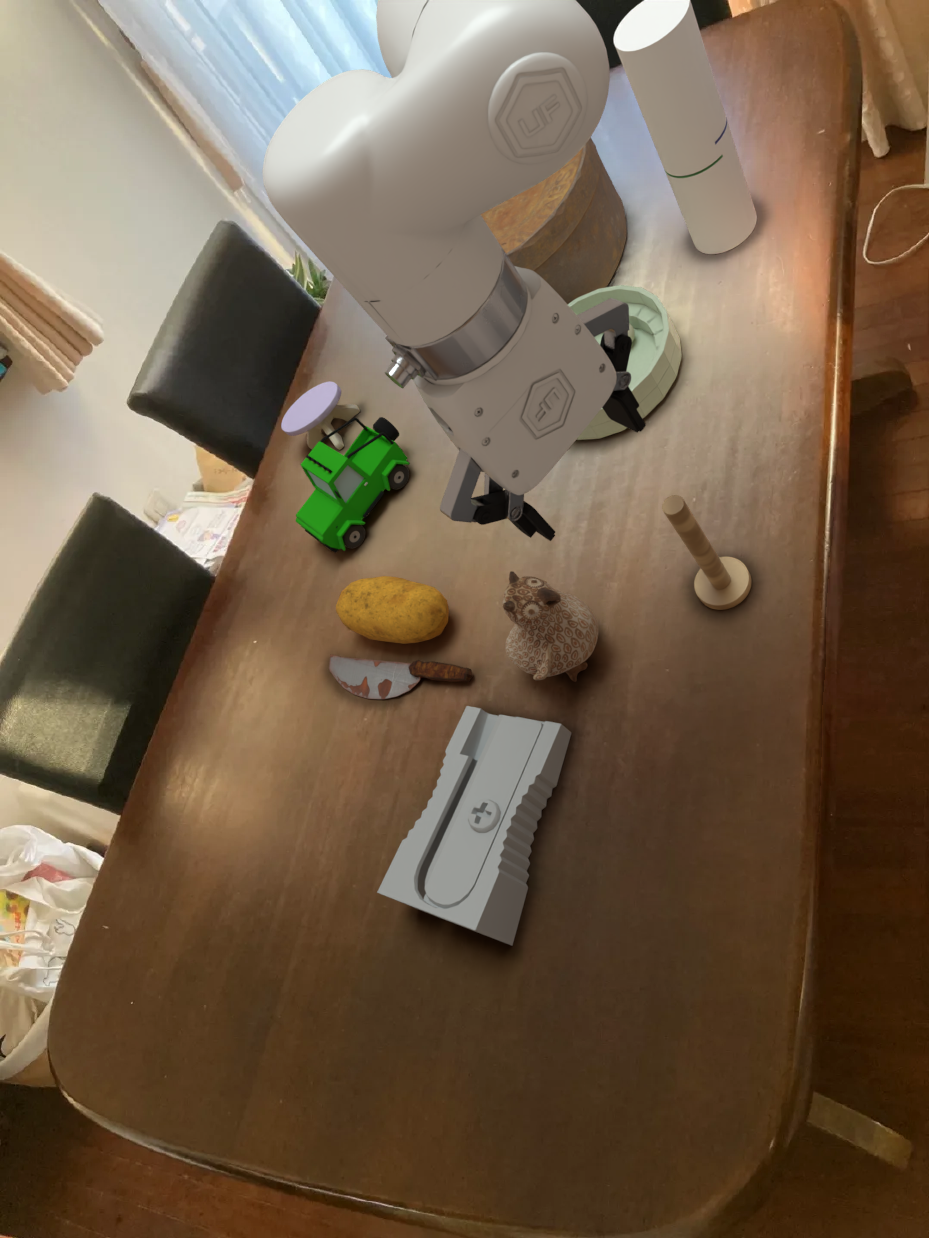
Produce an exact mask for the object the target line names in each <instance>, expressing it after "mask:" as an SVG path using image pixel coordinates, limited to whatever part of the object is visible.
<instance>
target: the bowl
mask: <svg viewBox="0 0 929 1238" xmlns="http://www.w3.org/2000/svg"><path fill="white" fill-rule="evenodd" d="M610 298H613V299H616V300H619V301H622V302H624V303H627V304H628V306H629V323H630V324H631V325H632V326H633V328H634V331H635V337H634V340H633V342H632V346H631V351H630V356H629V361H628V366H627V372H629V373H630V374H631V382H630V384H629V388H630V390H631V392H632V393H633V395H634V397H635V398H636V400H637V402H638V403H639V407H638V408H637V411H638V412H639V414H640V416H641V417H642V419H644V418H646V417H647V416H648V415H649V414H650V413H651V412H652V411H653V410H654V409H655V408H656V407H657V406H658V405H659V404H660V403H661V402H662V401H663V400H664V399H665V397H666V396H667V394H668V392H669V391H670V389H671V387H672V385H674V382H675V380H676V379H677V377H678V373H679V369H680V365H681V361H682V356H683V352H682V345H681V339H680V335H679V332H678V331H677V330H676V327H675V325H674V322H673V321H672V318H671V316H670V314H669V312H668V310H667V309H666V307H665V306H664V304H663V302H662V301H661V299H660V298H659V297H658V295H657V294H654V293H653V292H651V291H649V290H647V289H645V288H644V287H641V286H635V285H634V286H633V285H626V284H617V285H613V286H607V287H606V288H600V289H597V290H595V291H592V292H590V293H588V294H585V295H583V296H580V297H578V298H576V299H575V300H573V301H572V302H570V303H569V304H567V305H568V306H569V307H570V308H571V309H572V310H573V311H574V313H575V314H576V315H578V314H580V313H582V312H584V311H586V310H588V309H590V308H592V307H594V306H596V305H598V304H600V303H602V302H604V301H606V300H608V299H610ZM603 334H604V333H601V334H599V335H597V336H595V337H594V338H595V339H596V340H597V342H598V343H599V344H600V343H601V338H602V336H603ZM627 429H628V428H627V427H625V426H623V425H621V424H619V423H617V422H615V421H613V420H611V419H610V418H609V417H608V416H607V414H606V413H605V411H604V410H603V408H601V409H600V411H599V412H598V413H597V415H596V416H595V417H594V418H593V420H592V421H591V422H590V423H589V424H588V426H587V427H586V428H585V429H584V431H583V432H582V433H581V434H580V436H579V437H578V438H577V439H576V440H577V441H582V440H597V439H599V440H600V439H602V438H606V437H608V436H611V435H614V434H617V433H620V432H623V431H625V430H627ZM576 440H575V441H576Z"/></svg>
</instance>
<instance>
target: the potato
mask: <svg viewBox="0 0 929 1238" xmlns="http://www.w3.org/2000/svg"><path fill="white" fill-rule="evenodd" d="M335 612H336V614H337V615H338V617H339V619H340V621H341V623H342V624H343V626H345V627H346V629H348V630H349V631H351V632H354V633H356V634H358V635H360V636H362V637H365V638H366V639H369V640H372V641H373V640H374V641H380V642H387V643H395V644H405V645H406V644H415V643H421V642H425V641H429V640H432V639H434V638H436V637H439V636H441V635H442V633H443V632H444V630H445V627H446V626H447V625H448V622H449V615H450V609H449V603H448V600H447V598H446V597H445V596H444V595H443V594H442V592H441V591H440V590H438V589H437V588H436V587H434V586H431V585H429V584H425V583H421V582H417V581H412V580H409V579H406V578H403V577H398V576H389V575H382V576H381V575H380V576H375V577H363V578H361V579H357V580H354V581H352V582H350V583H349V584H348V585H346V586H345V588H343V589H342V590H341V591H340V594H339V596H338V599H337V602H336V604H335Z"/></svg>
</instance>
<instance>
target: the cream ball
mask: <svg viewBox="0 0 929 1238" xmlns="http://www.w3.org/2000/svg"><path fill="white" fill-rule="evenodd" d="M628 336H629V337H631V339H632V342H633V340H634V337H635V331H634V328H633V326H632V325H631V324H630V323H629V330H628Z"/></svg>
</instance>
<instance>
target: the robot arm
mask: <svg viewBox="0 0 929 1238" xmlns="http://www.w3.org/2000/svg"><path fill="white" fill-rule="evenodd" d="M376 5H377V6H376V14H375V19H376V20H375V21H376V33H377V41H378V46H379V50H380V54H381V57H382V60H383V62H384V65H385V68H386V70H387V72H388V74H389V75H390V77H388V76H385V75H383V74H381V73H379V72H376V71H374V70H372V69H371V70H370V69H365V68H363V69H362V68H361V69H350V70H346V71H343V72H340V73H338V74H336V75H333V76H331V77H329V78H328V79H326V80H325V81H323V82H321V83H320V84H319V85H317V86H316V87H315V88H313V89H312V90H311V91H309V92H308V93H307V94H305V96H304V97H302V98H301V99H300V100H299V101H298V102H297V103H296V104H295V105H294V106H293V107H292V108H291V110H290V111H288V113H287V115H286V116H284V119H283V120H282V121H281V122H280V124H279V126H278V127H277V128H276V130H275V131H274V133H273V135H272V137H271V138H270V141H269V143H268V144H267V148H266V150H265V154H264V159H263V164H262V172H261V173H262V181H263V187H264V190H265V192H266V195H267V198H268V200H269V202H270V203H271V205H272V207H273V208H274V210H275V211H276V212H277V214H278V215H279V216H280V217H281V219H282V220H283V221H284V222H285V223H286V224H287V226H288V227H289V228H290V229H291V230H292V231H293V232H294V233H295V234H296V236H297V237H298V238H299V239H300V240H301V241H302V242H303V243H304V245H305V246H306V247H307V248H308V249H309V250H310V251H311V252H312V253H313V255H314V256H315V257H316V258H317V260H319V261H320V262H321V263H322V265H323V266H324V267H325V268H326V269H327V270H328V271H329V272H330V273H331V275H332V276H333V277H334V278H335V279H336V280H337V281H338V282H339V284H341V286H342V287H343V288H344V290H345V291H347V292H348V294H350V296H351V297H352V298H353V299H354V301H356V303H358V305H359V306H360V307H361V308H362V309H363V311H364V312H365V313H366V314H367V315H368V316H369V317H370V318H371V320H372V321H373V322H374V323H375V324H376V325H377V326H378V328H379V329H380V330H381V331H382V332H383V333H384V334H385V335H386V336H385V339H386V341H387V342H388V343H389V344H390V346H392V349H391V351H392V353H393V354H394V356H393V357H392V358H391V364H390V365H389V366H388V367H387V368H386V370H385V371H384V374H385V375H386V376H387V378H388V379H390V380H391V382H393V383H394V384H395V385H396V386H398V387H399V388H400V389H405V387H406V386H407V385H408V384H409V382H410V381H411V380H412V381H413V383H414V385H415V387H416V388H417V391H418V392H419V394H420V396H421V399H422V400H423V401H424V403H425V405H426V407H427V408H428V410H429V411H430V413H431V414H432V416H433V417H434V419H435V420H436V422H437V423H438V424H439V426H440V428H441V429H442V430H443V432H444V433H445V435H446V436H447V437H448V438H449V440H450V441H451V443H452V444H453V445H454V447H455V448H456V449H457V450H458V453H457V456H456V459H455V462H454V465H453V468H452V471H451V473H450V476H449V479H448V481H447V482H448V483H447V485H446V488H445V491H444V493H443V497H442V500H441V502H440V505H439V511H440V512H441V514H443V515H444V516H445V517H447V518H449V519H450V520H451V521H453V522H460V523H469V524H471V523H476V524H479V525H481V526H485V525H488V524H491V523H496V522H499V521H504V520H508V521H510V522H511V523H512V525H514V526H515V528H516V529H518V530H519V531H520V532H521V533H523V534H524V535H525V536H527V537H528V538H530V539H531V538H533V536H534V535H535V534H536V533H537V534H538V535H540V536H542V537H543V538H545V539H546V540H547V541H549V542H551V541H552V540H553V539H554V538H555V537H556V531H555V529H554V528H553V527H552V526H551V525H550V524H549V523H548V522H547V520H546V519H545V518H544V517H543V516H542V515H541V514H540V513H539V511H538V510H537V509H536V508H535V507H533V506H532V505H531V504H530V503H528V502H526V501H525V494H527V493H529V492H531V491H532V490H533V489H535V488H536V487H537V486H538V485H539V484H540V483H541V482H542V481H543V480H544V479H545V478H546V476H547V475H548V474H549V473H550V472H551V470H552V469H553V468H554V467H555V466H556V465H557V464H558V462H559V461H560V460H561V459H562V458H563V456H564V455H565V454H566V453H567V451H569V450H570V448H571V447H572V446H573V445H574V443H575V442H576V439H577V438H578V437H579V436H580V434H581V433H582V432H583V431H584V429H585V428H586V427H587V426H588V424H589V423H590V422H591V421H592V420H593V418H594V417H595V416H596V415H597V413H598V412H599V411H600V409H601V408H603V410H604V411H605V413H606V414H607V416H608V417H609V418H610V419H611V420H613V421H615V422H617V423H619V424H621V425H623V426H625V427H627V428H626V429H629V430H631V431H632V432H635V433H638V434H639V432H642V431H643V430H644V429H645V427H646V426H647V423H646V422H645V421H644V418H642V417H641V416H640V414H639V412H638V411H637V408H638V407H639V403H638V402H637V400H636V398H635V397H634V395H633V393H632V392H631V390H630V388H629V384H630V382H631V374H630V373H629V372H627V366H628V361H629V356H630V351H631V346H632V339H631V337H629V336H628V330H629V306H628V304H627V303H624V302H622V301H619V300H616V299H613V298H610V299H608V300H606V301H604V302H602V303H600V304H598V305H596V306H594V307H592V308H590V309H588V310H586V311H584V312H582V313H580V314H578V315H576V314H575V313H574V311H573V310H572V309H571V308H570V307H569V306H568V305H567V303H566V302H565V301H564V300H563V299H562V298H561V297H560V295H559V294H558V293H557V292H556V291H555V290H554V289H553V288H552V287H551V286H550V285H549V284H548V283H547V282H546V281H545V280H544V279H543V278H542V277H540V276H539V275H538V274H537V273H536V272H534V271H533V270H530V269H526V268H520V267H516V266H514V265H513V264H512V262H511V261H510V259H509V257H508V256H507V254H506V253H505V251H504V250H503V248H502V247H501V245H500V244H499V242H498V241H497V239H496V238H495V236H494V235H493V233H492V231H491V230H490V228H489V227H488V225H487V224H486V222H485V221H484V219H483V218H482V216H481V214H482V213H484V212H486V211H488V210H490V209H491V208H493V207H495V206H497V205H499V204H501V203H503V202H505V201H507V200H509V199H511V198H512V197H514V196H516V195H518V194H520V193H522V192H524V191H526V190H528V189H529V188H531V187H533V186H535V185H536V184H538V183H540V182H542V181H543V180H545V179H546V178H548V177H549V176H551V175H552V174H554V173H555V172H557V171H558V170H560V169H561V168H562V167H563V166H564V165H565V164H567V163H568V162H569V161H570V160H571V159H572V158H573V157H574V156H576V154H577V153H578V152H579V151H580V150H581V149H582V148H583V147H584V145H585V144H586V143H587V141H588V140H589V139H590V137H591V138H592V136H593V134H594V132H595V131H596V129H597V127H598V126H599V123H600V121H601V119H602V117H603V114H604V111H605V108H606V106H607V100H608V96H609V90H610V81H611V79H610V78H611V76H610V75H611V73H610V62H609V58H608V57H609V56H608V51H607V48H606V45H605V42H604V39H603V37H602V34H601V33H600V30H599V28H598V26H597V24H596V23H595V21H594V20H593V19H592V17H591V15H590V14H589V13H588V12H587V11H586V10H585V8H584V7H582V6H581V4H580V3H579V2H578V1H577V0H377V4H376ZM601 333H604V334H603V336H602V338H601V343H600V344H599V343H598V342H597V340H596V339H595V338H594V337H595V336H597V335H599V334H601ZM481 473H484V486H483V487H484V488H483V489H484V490H483V494H482V495H478V496H474V497H473V494H474V492H475V489H476V486H477V483H478V481H479V478H480V475H481Z"/></svg>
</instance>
